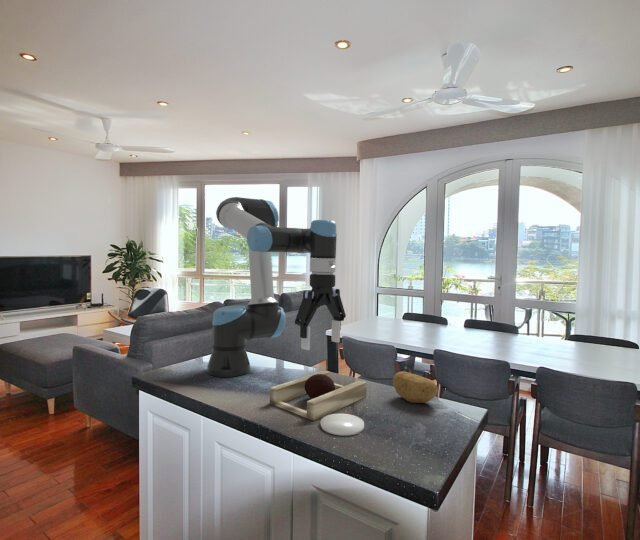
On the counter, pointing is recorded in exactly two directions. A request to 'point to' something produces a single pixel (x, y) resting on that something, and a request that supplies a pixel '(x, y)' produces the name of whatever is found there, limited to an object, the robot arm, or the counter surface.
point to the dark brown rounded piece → (319, 385)
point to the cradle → (319, 404)
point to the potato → (414, 387)
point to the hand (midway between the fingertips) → (321, 345)
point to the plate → (342, 424)
